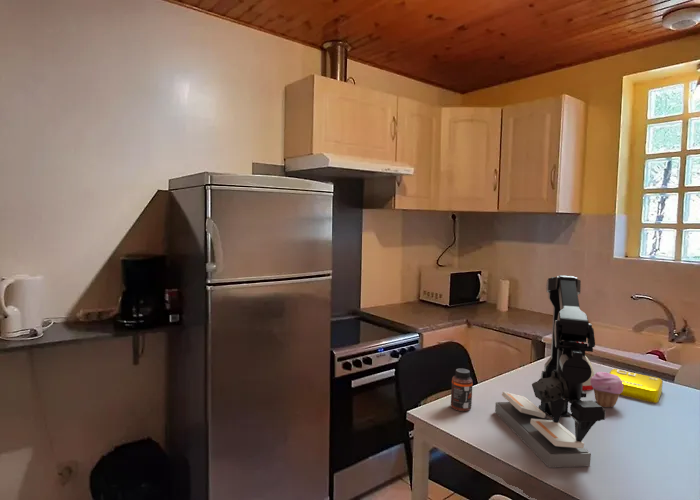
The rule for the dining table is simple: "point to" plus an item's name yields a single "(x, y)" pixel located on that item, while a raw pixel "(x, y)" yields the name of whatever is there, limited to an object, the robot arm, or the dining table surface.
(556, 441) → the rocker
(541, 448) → the grey switch panel
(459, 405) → the supplement bottle
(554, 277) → the robot arm
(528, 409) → the rocker
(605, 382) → the cupcake
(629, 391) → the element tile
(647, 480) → the dining table surface
